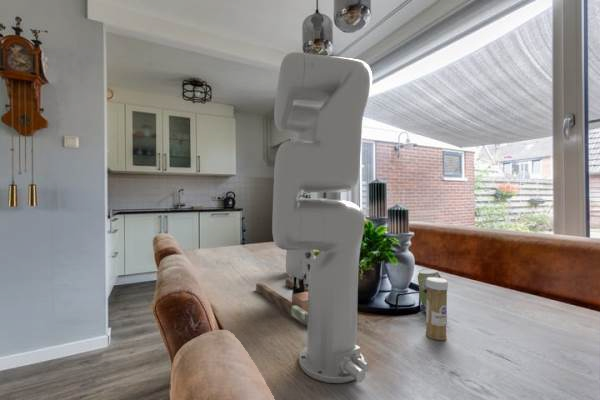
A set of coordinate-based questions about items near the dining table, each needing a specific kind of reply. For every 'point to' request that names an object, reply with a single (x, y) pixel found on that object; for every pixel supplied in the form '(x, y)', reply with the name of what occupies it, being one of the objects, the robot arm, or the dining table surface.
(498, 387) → the dining table surface
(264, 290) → the trap lane
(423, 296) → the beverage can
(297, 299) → the block
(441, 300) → the sprinkles bottle
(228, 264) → the dining table surface
